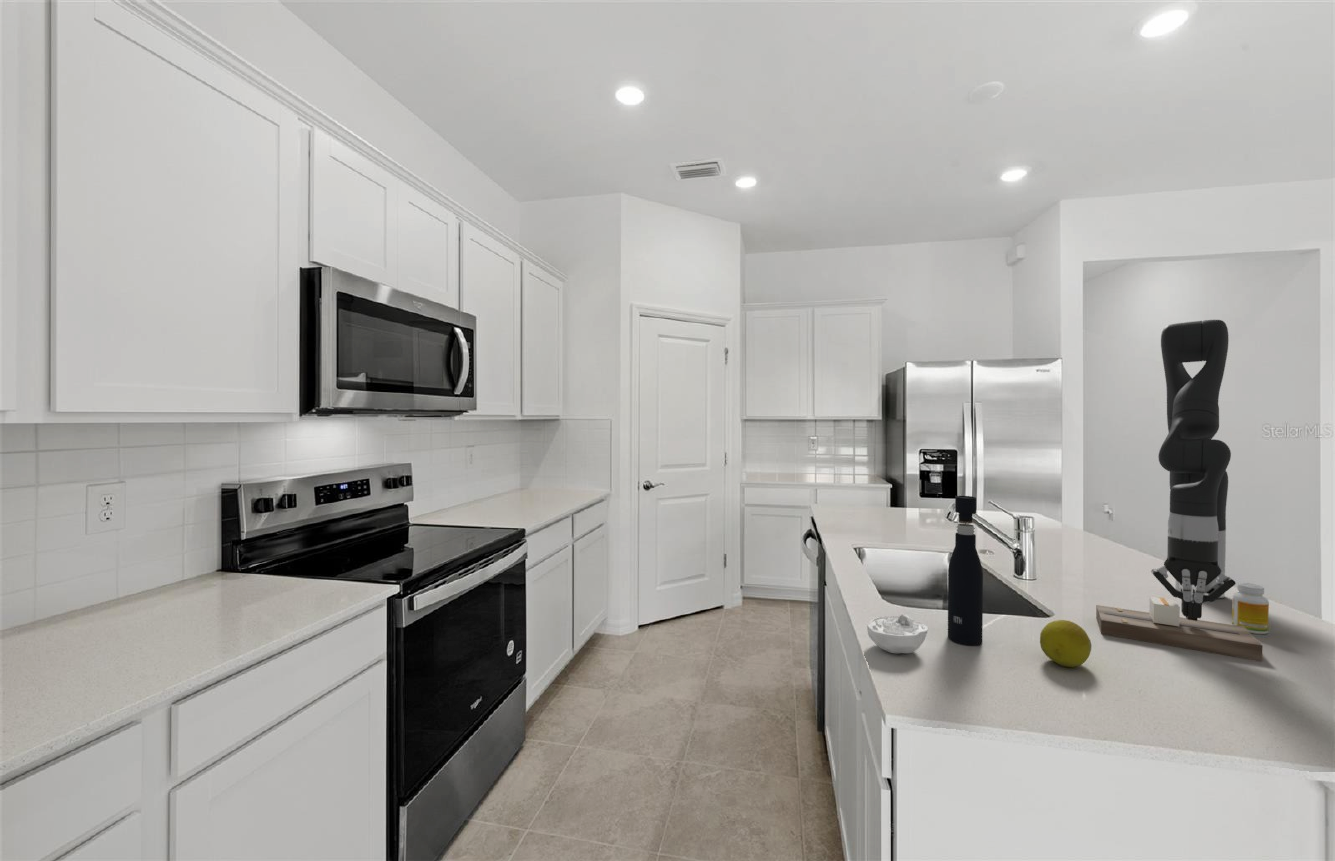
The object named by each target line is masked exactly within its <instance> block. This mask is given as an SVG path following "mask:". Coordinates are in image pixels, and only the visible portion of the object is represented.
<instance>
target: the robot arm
mask: <svg viewBox="0 0 1335 861" xmlns="http://www.w3.org/2000/svg"><path fill="white" fill-rule="evenodd" d="M1160 349H1161V357H1162V362H1163V370H1164V377H1165V384H1166V419H1167V420H1166V421H1167V422H1166V424H1167V430H1168V434H1167V436H1166V437H1165V439H1164V441H1163V443H1162V444H1161V446H1160V448H1159V450H1158V451H1159V452H1158V456H1157V457H1158V462H1159V464H1160V466H1161V467H1162V468H1163V469H1164V470H1165V471H1167V472H1169V490H1170V491H1169V516H1168V520H1167V554H1166V555H1167V558H1166V560H1164V562H1163V566H1161V567H1159V568H1153V569H1152V568H1151V574H1152V575H1153V577H1154V578H1156V579H1157V581H1158V582H1159V583H1160V584H1161V585H1162V586H1163V587H1164V588H1165V589H1166V590H1167V592H1169V593H1170V595H1171V596H1172V597H1173V598H1178V599H1180V600H1181V606H1180V608H1181V609H1180V610H1181V614H1182V615H1183V617H1185V618H1187V619H1188V620H1194V621H1197V620H1198V619H1201V618H1202V617H1203V616H1202V615H1203V613H1202V611H1203V610H1202V609H1203V603H1207V602H1210V603H1213V602H1215V601H1216V600H1217V599H1224V598H1225V593H1226V592H1228V591H1229V590H1230V589H1231V588H1232V587H1234V586H1235V585H1237V584H1236V581H1235V580H1234V579H1233V578H1231V577H1230V576H1227V575H1226V554H1227V553H1226V551H1227V550H1226V548H1227V547H1226V545H1227V542H1226V541H1227V539H1226V538H1227V533H1226V532H1227V525H1226V524H1227V523H1226V521H1227V518H1226V517H1227V514H1226V512H1227V503H1228V501H1227V500H1228V491H1229V476H1228V472H1227V468H1228V466H1229V464H1230V461H1231V457H1232V455H1231V454H1232V452H1231V449H1230V447H1229V445H1227V443H1226V442H1224V441H1223V440H1220V439H1214V437H1215V435H1217V433H1218V431H1219V429H1220V407H1219V406H1220V405H1219V399H1220V398H1219V397H1220V390H1221V387H1222V383H1223V382H1222V381H1223V378H1224V375H1225V374H1224V373H1225V368H1226V364H1227V363H1226V362H1227V358H1228V350H1229V328H1228V326H1227V324H1226V322H1225V321H1224V320H1222V319H1205V320H1196V321H1187V322H1186V321H1185V322H1178V323H1171V324H1168V325H1166V326H1165V327H1164V328H1163V329H1162V332H1161V335H1160ZM1197 362H1198V363H1199V362H1205V363H1204V365H1203V366H1202V368H1201V369H1200V370H1199V371H1198V372H1197V373H1196V374H1195V375H1194V376H1193V377H1191V375H1190V374H1189V373H1188V371H1187V370H1186V368H1185V366H1184V364H1183V363H1197ZM1168 573H1169V574H1170V575H1171V576H1172V577H1173V578H1174V580H1175V581H1174V582H1175V584H1174V585H1175V587H1174V586H1173V585H1172V584H1171V583H1170V581H1169V580H1168V577H1169V575H1168Z"/></svg>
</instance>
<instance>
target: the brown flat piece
mask: <svg viewBox="0 0 1335 861" xmlns="http://www.w3.org/2000/svg"><path fill="white" fill-rule="evenodd" d="M1095 610H1096V612H1095V614H1096V616H1095V619H1096V622H1097V626H1098V628H1099V632H1100V634H1101V635H1106V636H1113V637H1118V638H1122V639H1130V640H1133V641H1134V640H1135V641H1141V642H1147V643H1153V644H1159V645H1165V646H1172V647H1176V648H1183V649H1187V650H1194V651H1195V650H1196V651H1201V652H1206V653H1211V654H1213V653H1214V654H1218V655H1224V656H1230V657H1236V658H1242V659H1248V660H1253V661H1259V662H1263V645H1262V643H1261V642H1260V641H1258V639H1257V638H1256V637H1255V636H1254V635H1253V633H1250V632H1249V631H1248V630H1247V629H1246V628H1245V627H1243V626H1236V625H1232V624H1228V623H1221V622H1214V621H1208V620H1201V619H1197V621H1194V620H1188V619H1187V618H1186V617H1181V616H1180V620H1179V626H1173V625H1166V624H1160V623H1154V622H1153V621H1152V619H1151V617H1150V616H1149V612H1146V611H1141V610H1134V609H1133V610H1132V609H1125V608H1121V607H1113V606H1105V605H1100V604H1099V605H1098V604H1096V606H1095Z"/></svg>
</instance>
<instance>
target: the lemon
mask: <svg viewBox="0 0 1335 861" xmlns="http://www.w3.org/2000/svg"><path fill="white" fill-rule="evenodd" d="M1039 645H1040V648H1041V650H1042V652H1043V654H1044V655H1045V656H1047V657H1048V659H1050V660H1051V661H1053V662H1054V663H1056V664H1058V665H1059V666H1062V667H1066V668H1073V667H1074V668H1075V667H1079V666H1081V665H1083V664H1084V663H1085V662H1086V661H1088V658H1089V657H1090V655H1091V652H1092V642H1091V639H1090V637H1089V634H1087V632H1086V630H1085V629H1084V628H1082V626H1080V625H1078V624H1077V623H1076V622H1074V621H1071V620H1065V619H1057V620H1052V621H1051V622H1049V623H1047V624H1046V625H1045V626H1044V627H1043V628H1042V630H1041V632H1040V635H1039Z"/></svg>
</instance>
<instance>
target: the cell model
mask: <svg viewBox="0 0 1335 861" xmlns="http://www.w3.org/2000/svg"><path fill="white" fill-rule="evenodd" d="M866 627H867V628H866V630H867V635H868V637H869V639H870V640H871V641H872V642H873V643H874V644H876V646H877V647H878V648H880V649H882V650H883V651H886V652H888V653H890V654H912V653H915V651H917V650H918V649H919V648H920V647H921V646H922V645H923V643H924V641H925V640H926V637H927V634H928V632H929V627H928V626H927V625H926V624H924V623H922V622H920V621H917V620H914V619H912V618H911V617H909V616H908V615H907V614H900V615H899V616H895V615H892V616H882V615H881V616H878V617H874V618H872V619H870V621H869V622H868V623H867V624H866Z"/></svg>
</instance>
